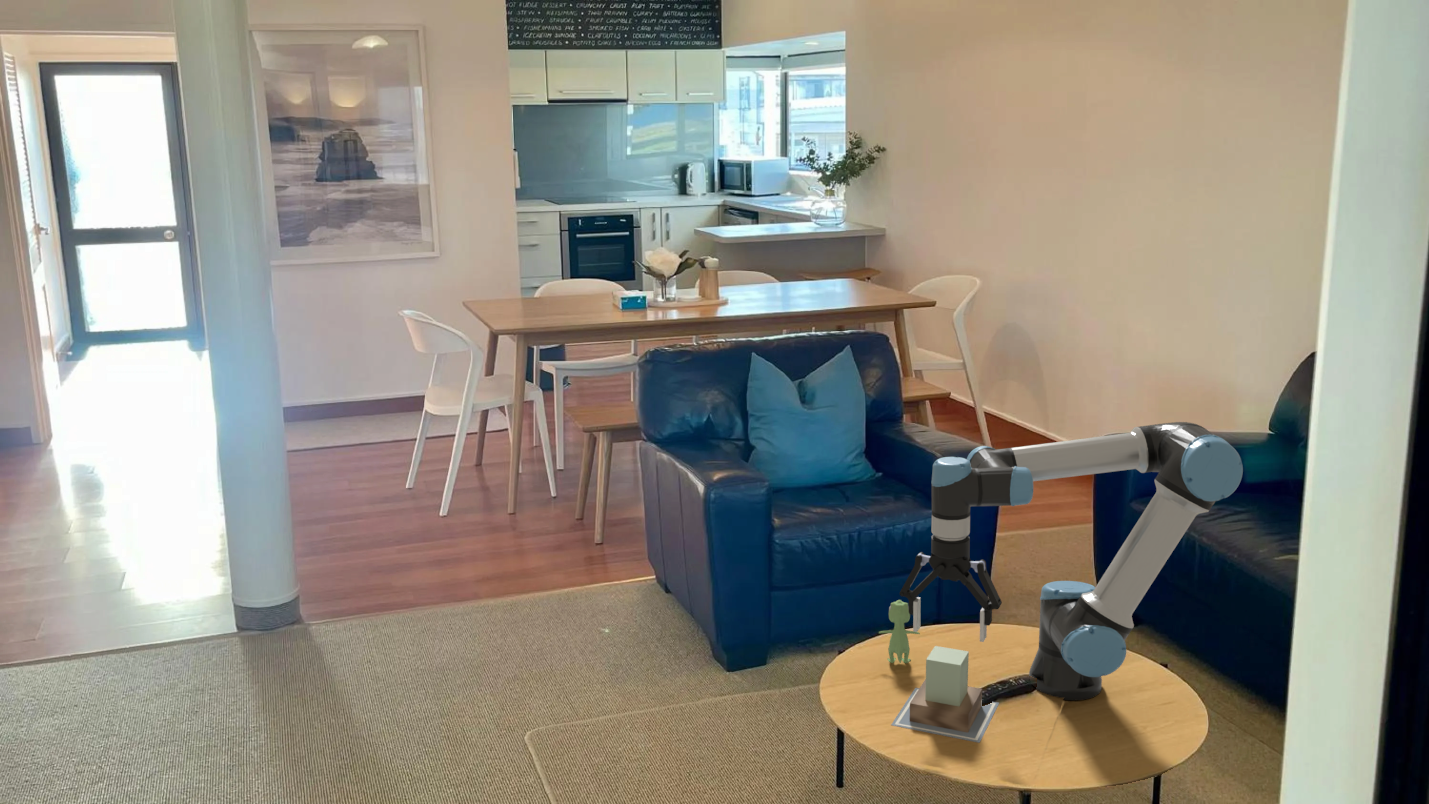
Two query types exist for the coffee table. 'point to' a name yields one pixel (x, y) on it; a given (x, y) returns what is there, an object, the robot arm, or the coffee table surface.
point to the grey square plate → (973, 734)
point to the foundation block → (946, 710)
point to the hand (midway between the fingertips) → (949, 634)
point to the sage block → (946, 676)
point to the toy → (899, 631)
